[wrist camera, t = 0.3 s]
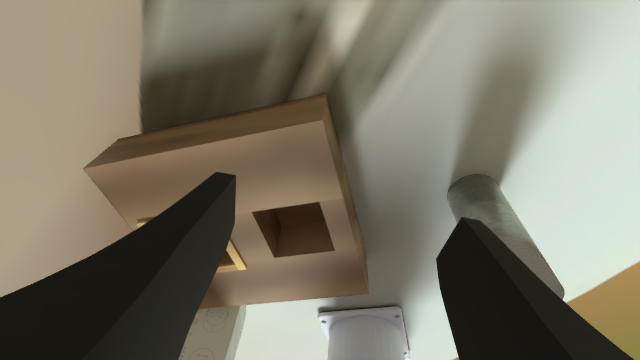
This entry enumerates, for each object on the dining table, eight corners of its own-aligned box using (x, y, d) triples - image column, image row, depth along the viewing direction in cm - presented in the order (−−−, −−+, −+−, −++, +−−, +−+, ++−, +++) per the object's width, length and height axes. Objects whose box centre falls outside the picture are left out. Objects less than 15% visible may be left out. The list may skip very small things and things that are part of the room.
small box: (168, 304, 32) (104, 432, 24) (161, 270, 29) (83, 403, 20) (247, 316, 32) (211, 446, 24) (248, 283, 29) (207, 421, 21)
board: (366, 256, 26) (368, 296, 23) (211, 273, 29) (195, 311, 26) (326, 93, 18) (322, 121, 15) (118, 138, 21) (80, 170, 18)
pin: (496, 208, 22) (557, 315, 16) (447, 214, 23) (488, 319, 16) (499, 170, 20) (570, 274, 14) (446, 178, 21) (491, 281, 14)
